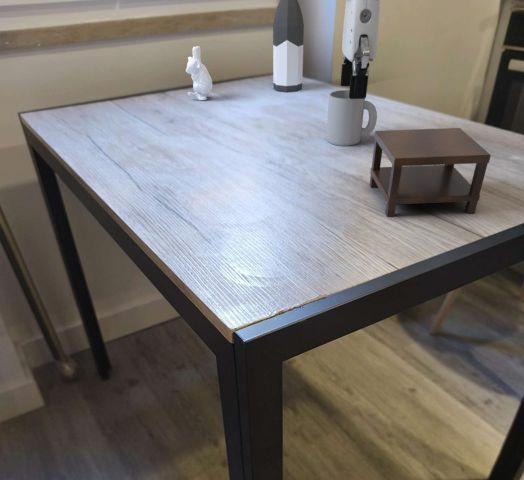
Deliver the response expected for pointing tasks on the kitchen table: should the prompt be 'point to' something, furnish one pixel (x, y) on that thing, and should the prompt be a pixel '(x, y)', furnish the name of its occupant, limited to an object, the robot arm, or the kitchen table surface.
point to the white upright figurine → (199, 76)
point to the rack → (427, 167)
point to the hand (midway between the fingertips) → (352, 92)
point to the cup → (348, 118)
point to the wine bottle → (288, 46)
